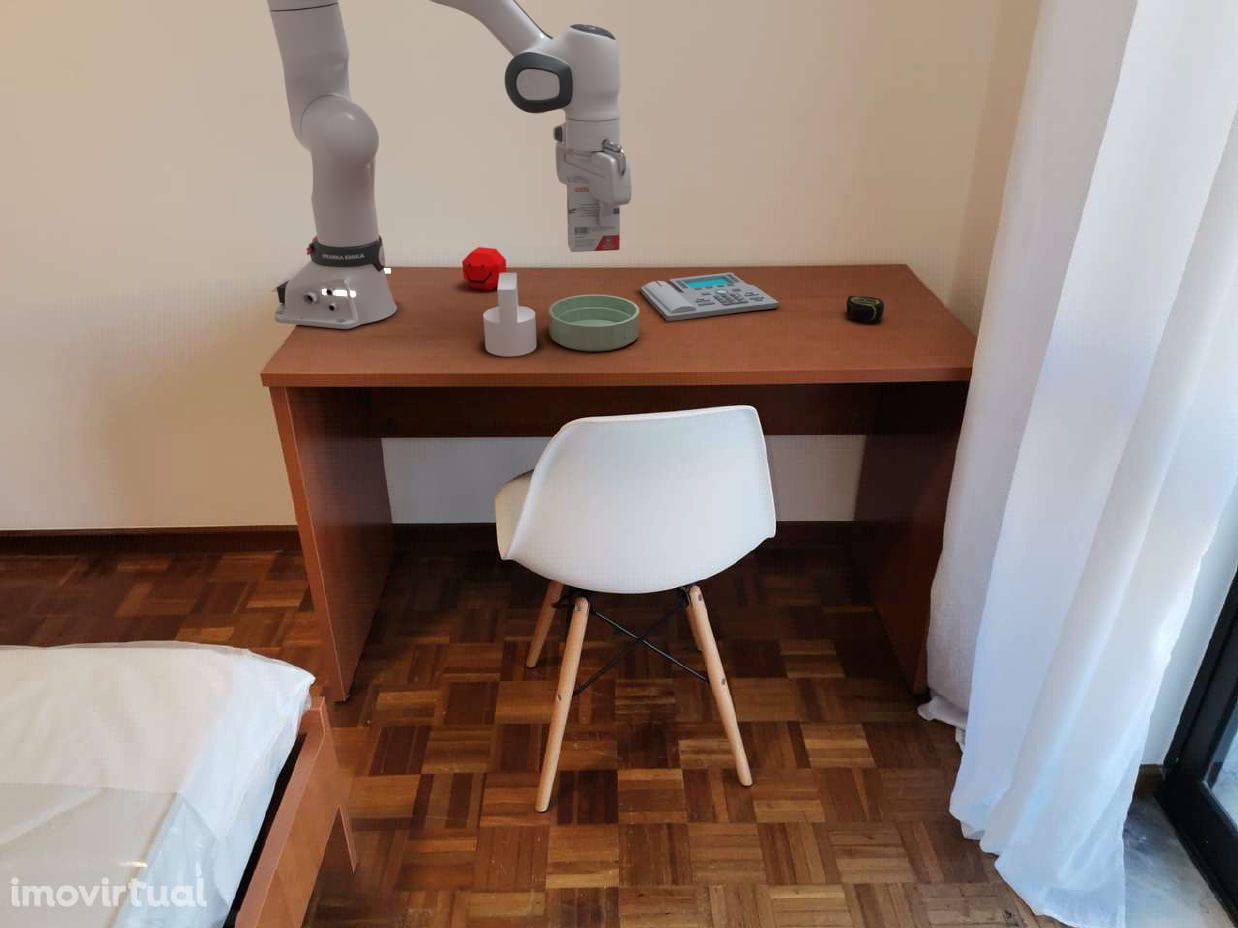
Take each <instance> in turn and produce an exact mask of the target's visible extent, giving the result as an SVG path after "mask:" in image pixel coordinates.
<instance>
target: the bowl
mask: <svg viewBox="0 0 1238 928" xmlns="http://www.w3.org/2000/svg"><path fill="white" fill-rule="evenodd" d="M548 333H549V334H548V335H549V336H550V338H551V340H552V341H554V342H556V343H557V344H559V345H560V346H562V347H565V348H568V349H571V350H575V351H580V352H581V351H582V352H607V351H614V350H617V349H621V348H624V347H626V346H628V345H630V344H631V343H633V342H635V341H636V340H637V339H638V338H639V335H640V307H639V306H638V305H637V303H635V302H633V301H631V300H629V299H627V298H623V297H621V296H615V295H608V294H579V295H573V296H568V297H564V298H562V299H560V300H557V301H555V302H554V303H552V304H551V305H550V306H549V308H548Z"/></svg>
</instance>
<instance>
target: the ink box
mask: <svg viewBox="0 0 1238 928" xmlns="http://www.w3.org/2000/svg"><path fill="white" fill-rule="evenodd" d="M588 182H589V181H587V180H584V179H581V178H577V177H567V185H566V208H567V209H566V211H567V213H566V216H567V217H566V218H567V220H566V221H567V245H568V248H569V251H570V252H571V253H578V252H579V253H580V252H581V253H582V252H584V253H585V252H608V251H619V250H620V245H621V243H620V242H621V241H620V240H621V239H620V237H621V236H620V235H621V225H620V224H621V221H620V220H621V218H620V217H621V213H620V212H621V209H620V208H621V207H620V206H621V205H618V206H614V208H613V211H612V213H611V215H610V225H609V226H606V227H602V226H600V225H598V224H597V215H598V214H599V213H600V209H601V206H599V200H598V199H596V198H593V197H591V196H590V195H589V183H588Z"/></svg>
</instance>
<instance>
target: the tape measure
mask: <svg viewBox="0 0 1238 928" xmlns="http://www.w3.org/2000/svg"><path fill="white" fill-rule="evenodd" d="M884 309H885V303H884V301H883V299H881V298H878V297H873V296H863V295H861V296H859V295H848V297H847V300H846V312H847V313H846V314H847V316H849V317H850V318H851V319H853V320H858V321H860V322H872V321H874V322H875V321H878V320H880V319H881V318H882V317H883V314H884Z"/></svg>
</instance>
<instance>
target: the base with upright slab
mask: <svg viewBox="0 0 1238 928" xmlns="http://www.w3.org/2000/svg"><path fill="white" fill-rule="evenodd" d="M518 285H519V284H518V273H517V272H507V273H500V274H499V282H498V285H497V304H498V306H495V307H491V308H489V309H487V310H485V312H483V315H482V317H483V331H484V343H485V344H484V345H485V350H486V351H487V352H488V353H490V354H492V355H494V356H499V357H519V356H524V355H528V354H530V353H532V352H534V351H535V350H536V348H537V346H538V345H537V326H536V325H537V323H536V322H537V321H536V312H535V310H533V309H532V308H530V307H528V306H524V305H523V306H522V305H520V304H519V289H518V288H519V287H518Z"/></svg>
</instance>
